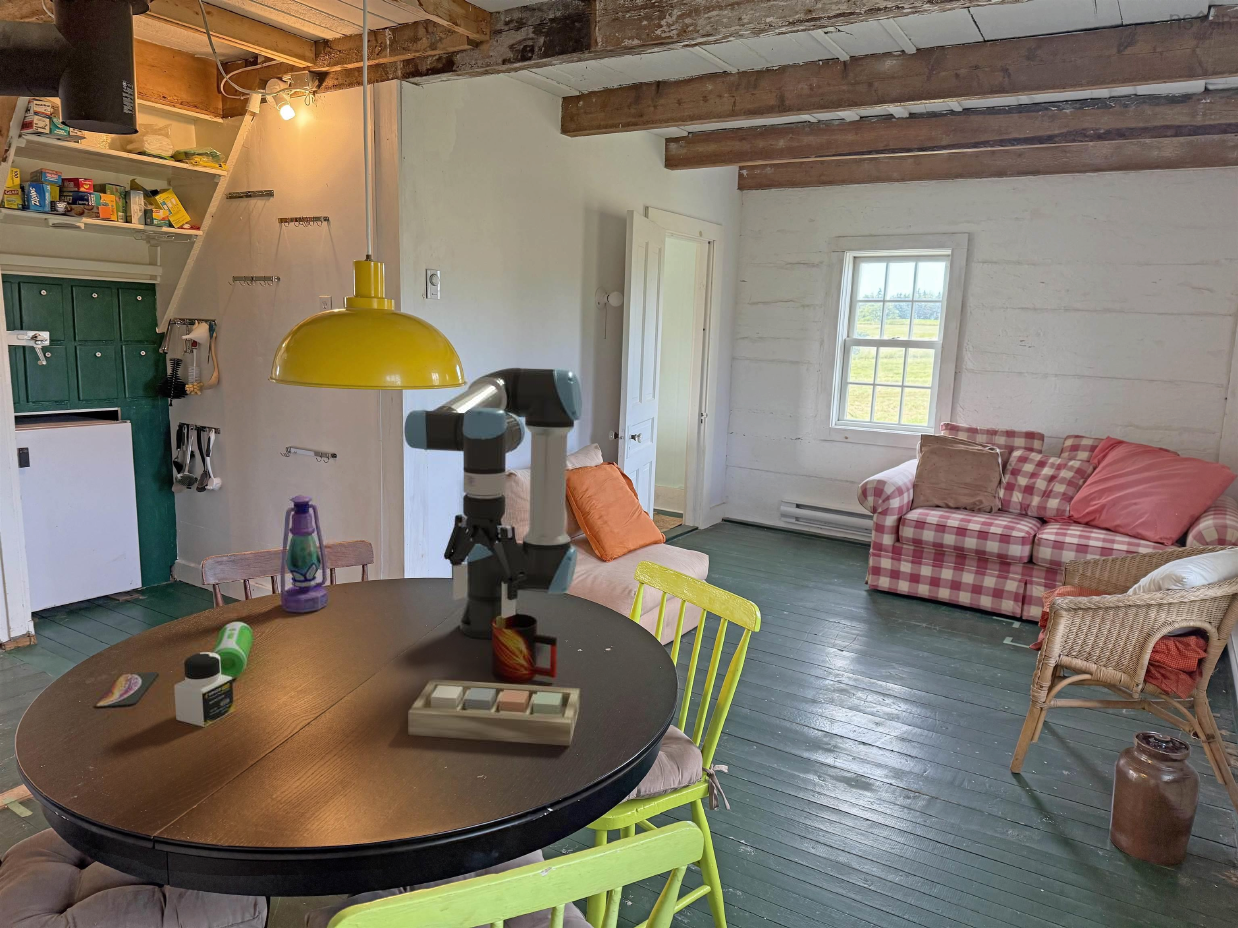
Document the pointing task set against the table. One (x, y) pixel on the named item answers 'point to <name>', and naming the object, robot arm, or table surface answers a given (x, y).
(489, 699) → the key slate
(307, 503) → the lantern
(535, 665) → the mug
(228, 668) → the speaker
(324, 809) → the table surface
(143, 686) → the smartphone
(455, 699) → the key ivory
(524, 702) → the key terracotta
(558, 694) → the key sage
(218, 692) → the medicine bottle
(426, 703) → the wooden compartment tray
